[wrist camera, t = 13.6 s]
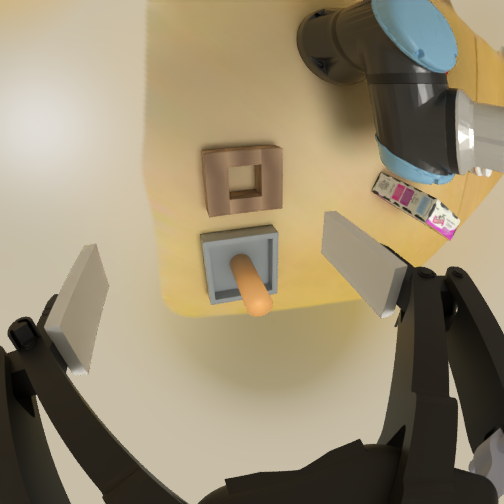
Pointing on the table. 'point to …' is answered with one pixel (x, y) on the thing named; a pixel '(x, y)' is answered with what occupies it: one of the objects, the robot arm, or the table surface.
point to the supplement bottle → (480, 171)
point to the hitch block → (243, 201)
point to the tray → (230, 244)
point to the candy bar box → (417, 205)
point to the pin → (250, 286)
